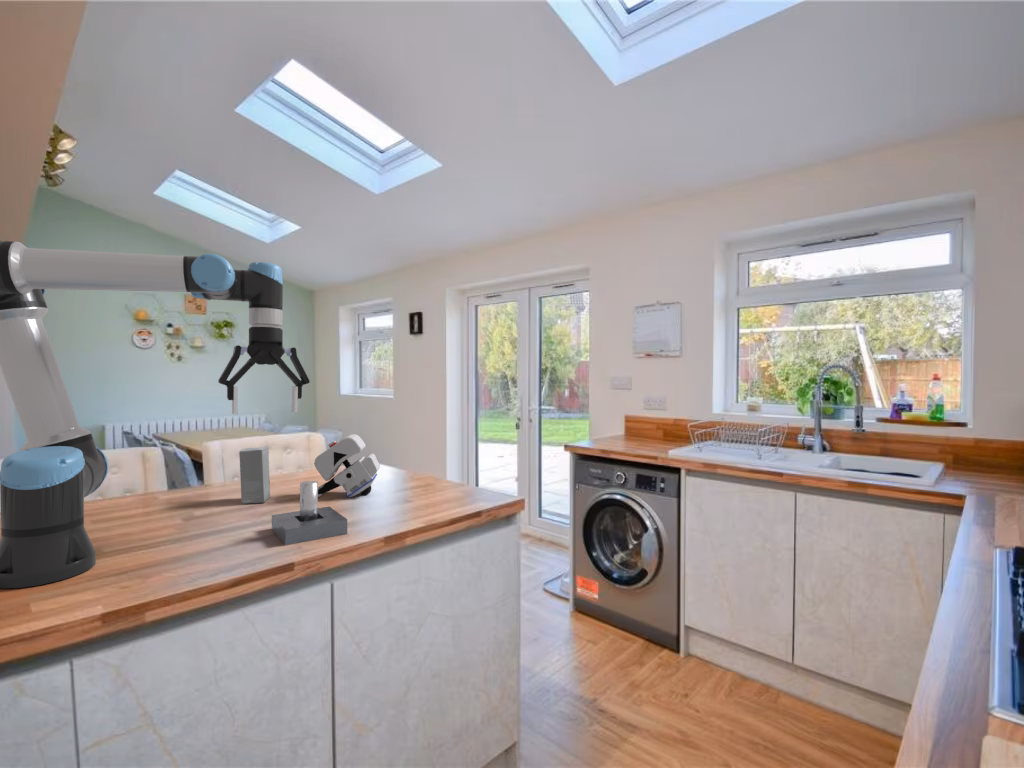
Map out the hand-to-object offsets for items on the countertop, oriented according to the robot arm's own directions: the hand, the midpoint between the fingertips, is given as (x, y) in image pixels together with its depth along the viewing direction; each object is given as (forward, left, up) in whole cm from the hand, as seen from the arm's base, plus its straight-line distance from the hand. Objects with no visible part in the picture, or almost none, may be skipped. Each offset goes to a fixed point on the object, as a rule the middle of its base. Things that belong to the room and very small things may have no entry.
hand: (265, 413), depth 125 cm
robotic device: (+28, +22, -29) cm, 45 cm away
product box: (+3, +30, -29) cm, 42 cm away
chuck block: (+8, -9, -29) cm, 31 cm away
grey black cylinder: (+8, -9, -29) cm, 31 cm away
